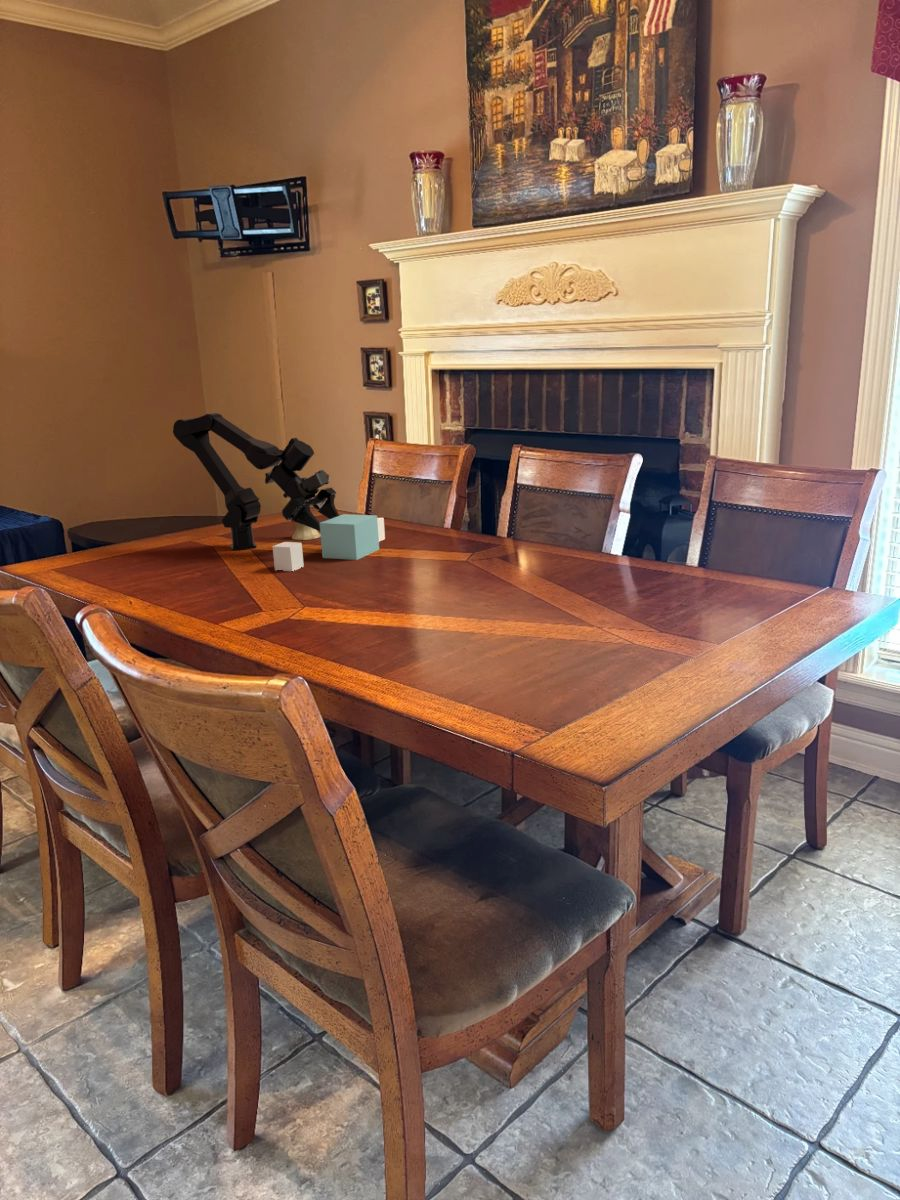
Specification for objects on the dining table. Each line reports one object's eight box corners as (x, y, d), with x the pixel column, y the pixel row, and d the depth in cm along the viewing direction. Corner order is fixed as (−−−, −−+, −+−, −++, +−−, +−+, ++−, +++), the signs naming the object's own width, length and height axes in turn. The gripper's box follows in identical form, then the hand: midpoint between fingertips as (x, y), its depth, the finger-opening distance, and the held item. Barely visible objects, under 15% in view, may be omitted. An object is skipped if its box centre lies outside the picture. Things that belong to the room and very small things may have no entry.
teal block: (322, 557, 216) (319, 523, 214) (346, 547, 227) (343, 514, 224) (356, 559, 212) (354, 524, 210) (379, 549, 223) (377, 515, 220)
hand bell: (290, 536, 244) (284, 480, 240) (318, 533, 247) (313, 478, 242) (293, 541, 237) (288, 484, 232) (323, 538, 239) (318, 482, 235)
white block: (275, 570, 206) (272, 546, 204) (286, 565, 210) (284, 541, 208) (292, 571, 204) (290, 547, 202) (303, 566, 208) (301, 542, 206)
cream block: (360, 542, 232) (358, 520, 231) (369, 538, 237) (367, 517, 235) (376, 543, 230) (375, 521, 229) (385, 539, 235) (383, 517, 233)
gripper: (287, 466, 209) (329, 511, 208) (326, 456, 225) (366, 498, 224) (264, 497, 214) (305, 542, 213) (304, 486, 230) (343, 527, 229)
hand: (331, 526), depth 220 cm, fingers open, 9 cm apart
